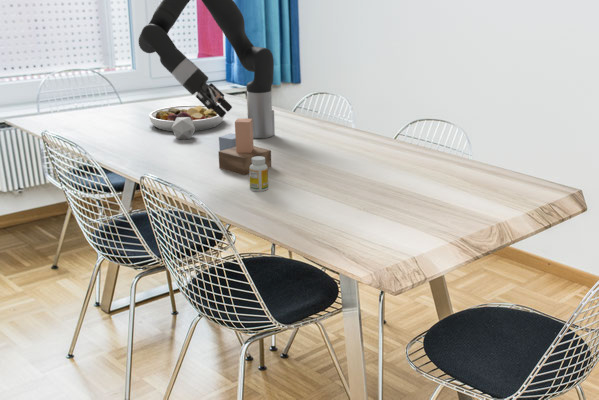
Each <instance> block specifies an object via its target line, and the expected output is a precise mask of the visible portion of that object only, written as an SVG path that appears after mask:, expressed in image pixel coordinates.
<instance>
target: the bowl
mask: <svg viewBox="0 0 599 400" xmlns="http://www.w3.org/2000/svg"><path fill="white" fill-rule="evenodd" d="M148 116H149V120H150V123H151V125H153V126H154V127H155V128H157V129H158V130H163V131H168V132H173V130H172V126H173V124H174V122H175V120H176V118H177V117H190V118H191V120H192V122H193V125H194V127H195V131H194V132H197V131H205V130H208V129H212V128H214V127H217V126H218V125H220V124H221V123H222V122H223V120H224V118H225V115H224V116H223V117H220V116H219V115H218V114H217V113H216V112H215V111H214V110H211V109H210V110H209V109H207V108H206V107H205V105H204V104H202V105H201V104H195V105H194V104H193V105H192V104H191V105H186V104H185V105H175V106H168V107H163V108H158V109H156V110H153V111H151V112H150V113H149V115H148Z"/></svg>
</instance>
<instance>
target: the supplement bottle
mask: <svg viewBox="0 0 599 400" xmlns="http://www.w3.org/2000/svg"><path fill="white" fill-rule="evenodd" d="M252 163H253V164H251V165H250V168H249V169H250V174H249V189H250V190H251V191H252V192H258V193H259V192H265V191H267V190H268V189H269V180H268V179H269V175H268V172H269V171H268V169H269V168H268V167H267V165H266V164H264V163H265V157H262V156H256V157H252Z"/></svg>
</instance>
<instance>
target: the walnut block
mask: <svg viewBox="0 0 599 400" xmlns="http://www.w3.org/2000/svg"><path fill="white" fill-rule="evenodd" d="M217 152H218V166H219V169H221V170H223V171H224V170H225V171H228V172H230V173H234V174H237V175H241V176H248V175H250V169H249V168H250V165H251V164H253V163H252V157H256V156H262V157H265V163H264V164H266V165H267V167H268V169H270V168H272V150H271V149H267V148H264V147H263V148H262V147H259V146H255V145H254V149H253V150H252V152H251V153H238V152H236V147H233V148H229V149H226V150H222V151H220V150H219V151H217Z"/></svg>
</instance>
